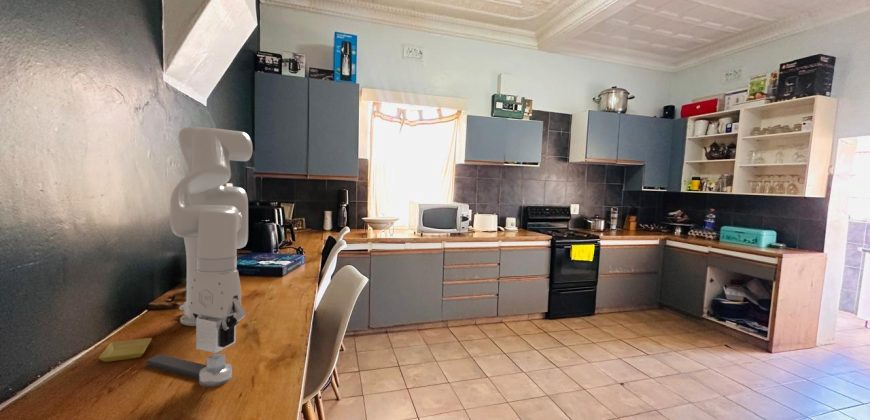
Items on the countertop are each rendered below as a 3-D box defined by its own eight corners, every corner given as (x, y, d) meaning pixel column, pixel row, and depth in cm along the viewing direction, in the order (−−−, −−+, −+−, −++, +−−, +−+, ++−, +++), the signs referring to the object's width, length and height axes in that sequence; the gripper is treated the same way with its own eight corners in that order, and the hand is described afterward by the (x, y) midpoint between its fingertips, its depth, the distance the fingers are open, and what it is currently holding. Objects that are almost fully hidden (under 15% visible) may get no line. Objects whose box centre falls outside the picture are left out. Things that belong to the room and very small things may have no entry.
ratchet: (139, 369, 84) (139, 347, 83) (166, 357, 90) (166, 336, 89) (215, 389, 78) (215, 365, 77) (238, 374, 84) (238, 352, 84)
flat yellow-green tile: (144, 360, 88) (144, 352, 88) (97, 366, 85) (97, 357, 84) (152, 345, 96) (152, 337, 96) (110, 350, 92) (110, 342, 92)
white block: (196, 348, 79) (196, 318, 79) (216, 338, 84) (217, 310, 84) (215, 353, 78) (216, 321, 77) (235, 342, 83) (236, 313, 83)
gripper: (171, 262, 78) (171, 342, 80) (235, 272, 74) (233, 356, 75) (201, 256, 86) (201, 330, 87) (261, 264, 81) (260, 342, 83)
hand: (216, 341), depth 81 cm, fingers closed on white block, 5 cm apart
